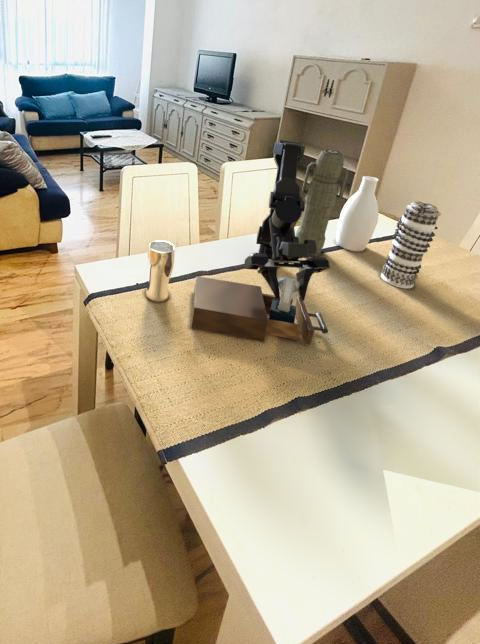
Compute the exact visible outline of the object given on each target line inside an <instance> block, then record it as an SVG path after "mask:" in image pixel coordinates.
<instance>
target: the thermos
mask: <svg viewBox="0 0 480 644" xmlns="http://www.w3.org/2000/svg"><path fill="white" fill-rule="evenodd" d="M344 156H345V155H344V153H343V152H342V151H341V150H337V149H331V148H325V149H322V150H321V151H320V153H319V154H318V156H317V158H316V160H315V162H314V161H311V162H310V163H309V164H308V165H307V168H306V172H305V175H304V180H303V185H302V190H301V193H303V194H304V195H305V196H304V205H305V209H304V211H302V215H301V220H300V225H299V226H298V228H297V230H296V231H295V237H298V239H299V243H304V240H315V242H316V247H317V251H316V254H309V257H319V256H320V255H321V254H322V250H323V248H324V246H325V242H326V231H327V228H328V224H329V221H330V217H331V213H332V210H333V208H334V207H335V205H336V202H337V201H339V200H342V199H343V196H344V193H345V190H346V185H347V182H348V180H349V176H350V172H349V170H348V168H346V167H344V165H345V164H344V161H345V157H344ZM312 167H313V168H314V170H313V176H312V177H311V180H310V182H308V180H309V175H310V171H311V168H312ZM342 172H344V175H343V178H342V183H341V186H340V189H339V183H340V181H339V180H340V178H341V176H342ZM307 183H308V185H307ZM306 187H307V188H306Z"/></svg>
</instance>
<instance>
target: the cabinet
mask: <svg viewBox="0 0 480 644" xmlns="http://www.w3.org/2000/svg"><path fill="white" fill-rule="evenodd" d="M262 293H263V290H262V286H260V285H256V284H255V285H253V284H248V283H242V282H237V281H229V280H223V279H216V278H211V277H205V276H199V275H196V276H195V283H194V290H193V299H192V313H191V329H194V330H200V331H205V332H209V333H215V334H220V335H226V336H233V337H237V338H243V339H248V340H253V341H259V342H264V339H265V335H266V334H265V331H266V326H267V322H268V319H267V314H266V309H265V304H264V300H263V295H262Z"/></svg>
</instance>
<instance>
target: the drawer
mask: <svg viewBox="0 0 480 644" xmlns="http://www.w3.org/2000/svg"><path fill="white" fill-rule="evenodd" d="M262 295H263V300H264V304H265V309H266V314H267V319H268V322H267V326H266V331H265V335H269V336H274V337H279V338H285V339H291V340H296V341H299V338H300V335H301V337H302V340H303V344H304V345H306V346H311V343H312V340H313V336H314V333H315V331H318V332H321V333H322V334H325V335H326V334H328V333H329V329H328V326H327V324H326V322H325V319H324V317H323V314H322V313H321V312H316V313H313V312H309V311H308V309H307V306H306V304H305V300H303V301H302V300H301V299H300V296H297V297H296V301H295V304H294V306H296V316H295V319H296V322H297V323H295V322H294V323H288V322H282V321H277V320H271V319H269V315H270V310H271V305H272V300H276V301H280V299H276V297H275V295H274V294H269V293H263V292H262ZM280 297H281V295H280ZM293 302H294V299H293V297H292V298H291V302H290V304H291V305H293ZM311 317H312V318H316V321H317V324H318V326H315V325H313V322H312V319H311Z"/></svg>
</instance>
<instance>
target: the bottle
mask: <svg viewBox="0 0 480 644" xmlns="http://www.w3.org/2000/svg"><path fill="white" fill-rule="evenodd" d="M361 180H362V181H361V183H360V185H359V188H358V190H357V191H356V192H355V193H354V194H352V195H351V196H350V197H349V198H348V200H347V201H346V202H345V203H344V205H343V208H342V209H341V211H340V215H339V219H338V223H337V229H336V239H335V242H336V244H337V245H338V246H339V247H340V248H342V249H344V250H347V251H351V252H363V251H364V250H366V248H367V246H368V244H369V242H370V241H371V239H372V237H373V235H374V232H375V230H376V227H377V225H378V221H379V203H378V200H377V197H376V189H377V185H378V182H379V178H378V177H374V176H369V175H363V176H362V179H361Z"/></svg>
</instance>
